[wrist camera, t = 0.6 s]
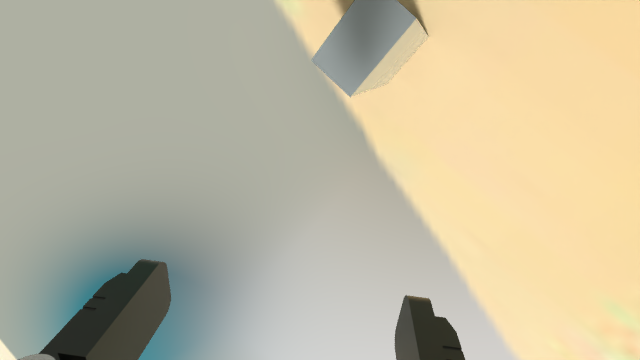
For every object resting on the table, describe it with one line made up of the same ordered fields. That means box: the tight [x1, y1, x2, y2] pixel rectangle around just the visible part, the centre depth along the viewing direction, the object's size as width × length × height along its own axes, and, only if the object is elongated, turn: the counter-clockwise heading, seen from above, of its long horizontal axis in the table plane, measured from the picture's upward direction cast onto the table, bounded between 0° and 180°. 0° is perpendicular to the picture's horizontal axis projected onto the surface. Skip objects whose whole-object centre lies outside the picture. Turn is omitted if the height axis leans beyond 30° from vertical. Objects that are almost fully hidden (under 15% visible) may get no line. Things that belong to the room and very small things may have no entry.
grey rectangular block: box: [311, 0, 429, 97], centre depth 24 cm, size 5×3×13 cm, turn 140°
